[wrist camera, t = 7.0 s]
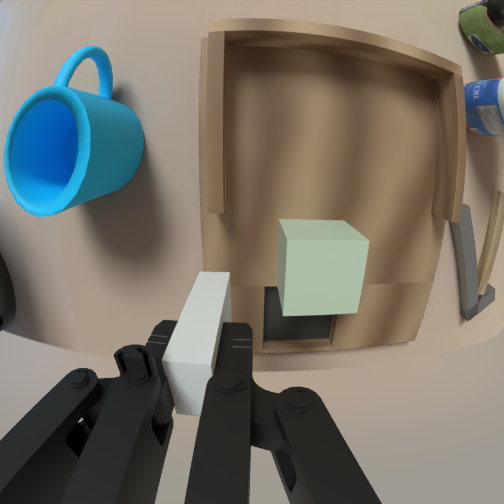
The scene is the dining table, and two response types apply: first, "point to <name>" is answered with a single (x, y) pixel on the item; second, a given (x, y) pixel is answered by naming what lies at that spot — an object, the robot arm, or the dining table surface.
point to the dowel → (491, 241)
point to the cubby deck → (327, 169)
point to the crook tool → (468, 267)
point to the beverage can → (484, 25)
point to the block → (320, 267)
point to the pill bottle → (485, 106)
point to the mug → (71, 142)
